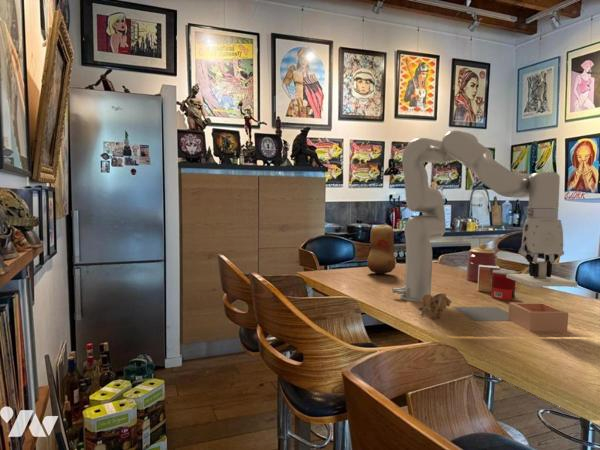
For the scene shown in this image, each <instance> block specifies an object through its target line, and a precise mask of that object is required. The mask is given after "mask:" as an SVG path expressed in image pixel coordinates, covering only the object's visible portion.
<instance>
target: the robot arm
mask: <svg viewBox="0 0 600 450" xmlns="http://www.w3.org/2000/svg"><path fill="white" fill-rule="evenodd" d="M492 155H493V154H492V151H491V150H490V148H488V147H486V146H485V145H483V144H481V143H480V142H479V140H478V138H477V137H476V136H475V135H474V134H472V133H470V132H466V131H462V130H451V131H448V132H447V133H446V134H445V135H444V136H443V137H442V139H441V140H437V139H433V138H428V137H418V138H414V139H413V140H411V141H410V142H409V143H408V144H407V145H406V146H405V148H404V150H403V153H402V155H401V156H402V157H401V165H402V169H403V178H404V179H403V180H404V190H405V191H404V193H405V202H406V207H407V208H408V210H410V212H411V211H412V212H415V213H421V214H422V215H415V216H412V217H410V218H408V219H407V220H406V222H405V224H404V229H403V230H404V237H405V238H404V239H405V272H404V273H405V274H404V275H405V276H404V277H405V279H404V281H405V282H404V285H402V287H399V288H398V287H392V288H391V292H392V293H393V294H398V295H400V298H401V299H402V300H403V301H411V302H419V303H420V302H421V303H422V300H423V297H424V296H425V295H427V294H428V295H431V296H432V297H433V296H434V295H432V279H433V278H432V275H433V274H432V273H433V272H432V271H433V248H432V247H433V246H432V244H431V241H436V240H439V239H441V238H442V237H443V236H444V234H445V233H446V229H447V228H446V227H447V224H446V223H447V222H446V211H445V202H444V197H443V195H442V193H441V192H440V190H438V189H437V188H434V187H430V186H429V177H428V171H427V169H426V168H425V165H424V164H425V163H428V164H429V163H432V164H442V163H443V164H444V163H449V162H453V161H457V162H459V163H460V164H462V166H464V167H465V168H467V169H468V170H470V171H471V172H472V173H473V175H474V176H475V178H477V179H478V180H479V182H481V183H482V184H483V185H485V186H486V187H487V188H489V189H491V190H492V191H493V192H495V193H496V194H497V195H499V196H502V197H505V198H516V199H517V198H528V208H527V210H525V211H524V215H525V216H527V218H526V219H525V221H524V225H523V229H522V237H521V246H520V247H519V250H518V251H517V252H518V254H519V255H520V256H522V257H523V258H525V260H526V261H527V262H528V263H529V264H528V274H529V275H530V276H533V277H538V268H539V265H538V264H537V261H538V259H539V258H538V257H539V255H540V254H541V255H542V254H543V257H544V261H545V262H547V275H546V277H551V275H552V273H553V272H552V271H553V265H554V264H555V261H556V260H558V259H559V258H560V257H562V256H564V255H565V251H564V229H563V224H562V220H561V219H559V204H560V203H559V200H560V184H561V183H560V180H561V179H560V174H559V173H557V172H555V171H541V172H534V173H521V172H517V171H516V172H515V171H511V170H510V169H508V168H506V167H505V166H503V165H502V164H500V163H499V162H498V161H497V160H495V159H494V158H493V156H492Z"/></svg>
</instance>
